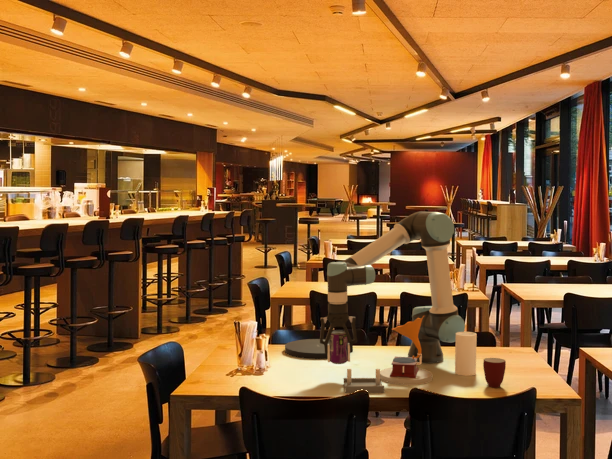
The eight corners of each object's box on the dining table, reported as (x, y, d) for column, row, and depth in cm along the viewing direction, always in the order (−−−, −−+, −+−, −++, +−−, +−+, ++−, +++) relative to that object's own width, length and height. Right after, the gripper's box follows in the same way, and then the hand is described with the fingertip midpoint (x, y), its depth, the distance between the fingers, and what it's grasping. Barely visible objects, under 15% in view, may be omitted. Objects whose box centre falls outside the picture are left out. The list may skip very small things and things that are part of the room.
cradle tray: (380, 384, 289) (380, 365, 289) (384, 392, 278) (384, 373, 277) (343, 384, 289) (343, 365, 289) (345, 392, 277) (345, 373, 277)
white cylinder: (477, 371, 309) (477, 332, 308) (474, 376, 301) (475, 336, 300) (456, 369, 312) (457, 331, 311) (453, 374, 304) (454, 334, 303)
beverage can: (346, 365, 291) (346, 334, 291) (328, 364, 293) (327, 333, 292) (349, 360, 298) (348, 330, 298) (331, 360, 300) (330, 330, 299)
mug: (476, 382, 292) (476, 356, 291) (495, 381, 294) (496, 355, 293) (489, 389, 282) (489, 363, 281) (509, 388, 283) (509, 362, 283)
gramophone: (433, 373, 307) (434, 311, 305) (430, 386, 287) (431, 320, 285) (383, 370, 311) (383, 309, 310) (376, 383, 292) (376, 318, 290)
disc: (363, 350, 350) (363, 343, 350) (329, 362, 325) (329, 355, 325) (307, 342, 366) (307, 336, 366) (271, 354, 341) (271, 347, 341)
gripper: (362, 300, 298) (363, 358, 299) (311, 301, 298) (312, 359, 299) (364, 303, 290) (365, 362, 292) (311, 304, 290) (313, 364, 292)
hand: (338, 361), depth 296 cm, fingers closed on beverage can, 7 cm apart
